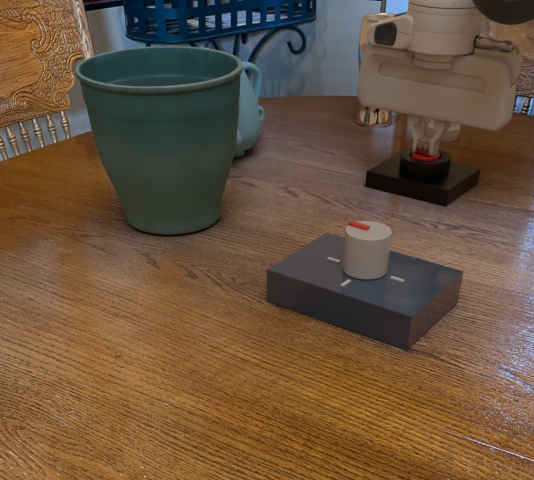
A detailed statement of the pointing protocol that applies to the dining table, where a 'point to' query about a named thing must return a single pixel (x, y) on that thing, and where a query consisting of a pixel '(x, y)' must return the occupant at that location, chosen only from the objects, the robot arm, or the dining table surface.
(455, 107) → the robot arm
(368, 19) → the beer glass
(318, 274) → the panel
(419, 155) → the button
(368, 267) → the tap knob
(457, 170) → the box
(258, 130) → the decorative pot
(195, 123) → the flower pot
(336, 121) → the dining table surface
